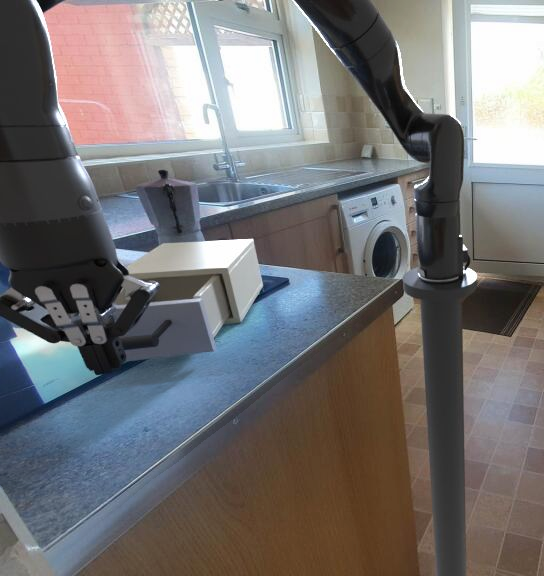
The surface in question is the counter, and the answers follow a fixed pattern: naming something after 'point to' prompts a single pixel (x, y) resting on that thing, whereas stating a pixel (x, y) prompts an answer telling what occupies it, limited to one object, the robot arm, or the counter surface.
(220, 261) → the cabinet
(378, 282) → the counter surface
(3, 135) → the robot arm
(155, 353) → the drawer
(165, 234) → the moka pot
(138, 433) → the counter surface
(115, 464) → the counter surface
